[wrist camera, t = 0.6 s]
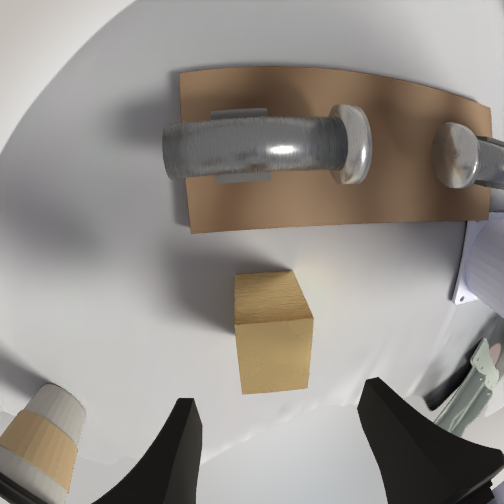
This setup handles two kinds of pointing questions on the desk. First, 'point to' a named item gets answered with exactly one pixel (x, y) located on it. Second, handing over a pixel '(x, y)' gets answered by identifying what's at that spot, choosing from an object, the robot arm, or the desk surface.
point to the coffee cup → (41, 448)
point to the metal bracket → (470, 393)
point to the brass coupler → (272, 332)
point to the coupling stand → (327, 150)
